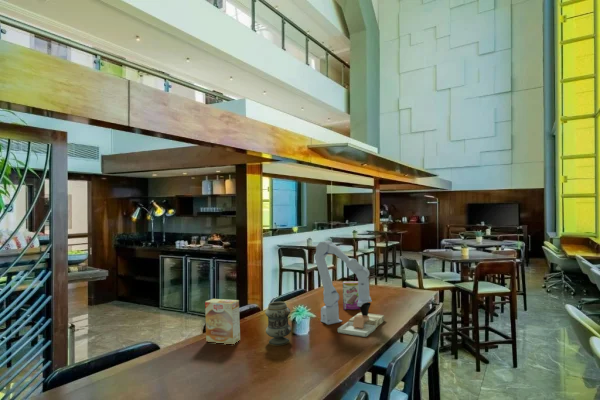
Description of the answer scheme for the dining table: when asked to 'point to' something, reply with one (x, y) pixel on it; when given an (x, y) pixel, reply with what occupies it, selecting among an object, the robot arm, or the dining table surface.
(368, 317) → the back tile
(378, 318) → the plate
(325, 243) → the robot arm
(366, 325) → the box
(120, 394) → the dining table surface
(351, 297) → the candy bar box
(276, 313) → the carved stone vase
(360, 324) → the front tile
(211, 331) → the coffeecake box
